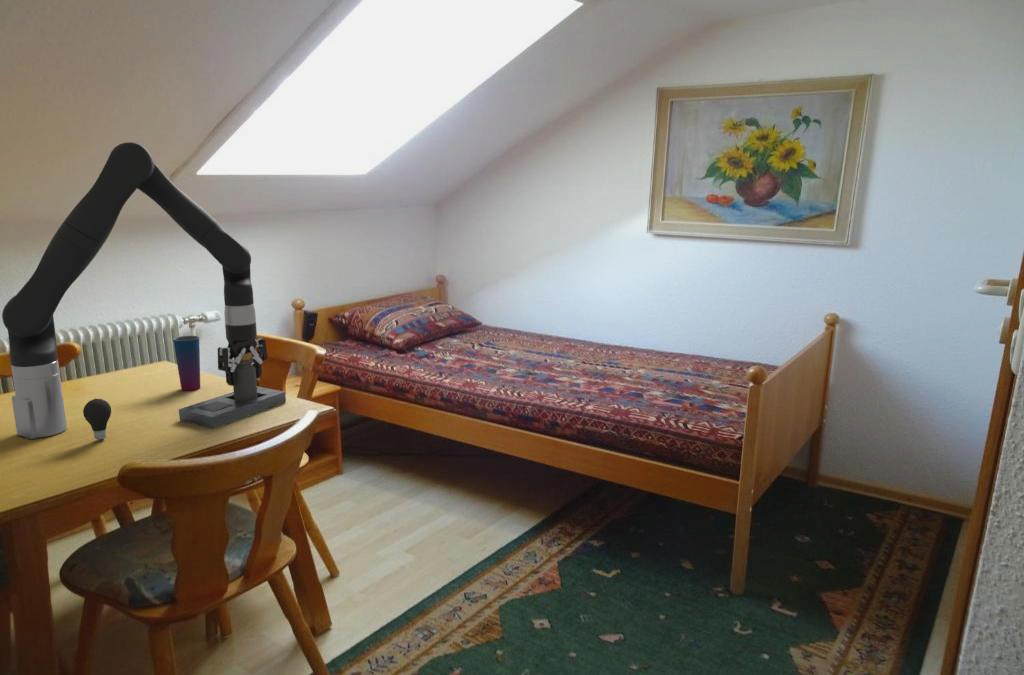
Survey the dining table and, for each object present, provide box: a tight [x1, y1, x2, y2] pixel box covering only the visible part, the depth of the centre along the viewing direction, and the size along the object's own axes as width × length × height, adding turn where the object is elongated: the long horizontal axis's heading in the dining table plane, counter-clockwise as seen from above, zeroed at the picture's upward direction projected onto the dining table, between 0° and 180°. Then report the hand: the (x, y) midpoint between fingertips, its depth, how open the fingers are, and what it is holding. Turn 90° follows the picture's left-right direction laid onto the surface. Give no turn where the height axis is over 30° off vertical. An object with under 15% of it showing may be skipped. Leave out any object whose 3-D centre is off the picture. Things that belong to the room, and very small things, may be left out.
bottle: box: [232, 352, 258, 402], centre depth 189 cm, size 6×6×15 cm
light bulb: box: [82, 398, 112, 442], centre depth 165 cm, size 6×6×10 cm
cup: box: [173, 335, 201, 392], centre depth 205 cm, size 7×7×15 cm
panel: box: [178, 385, 287, 430], centre depth 187 cm, size 24×12×3 cm, turn 152°
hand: (244, 381), depth 189 cm, fingers open, 8 cm apart
